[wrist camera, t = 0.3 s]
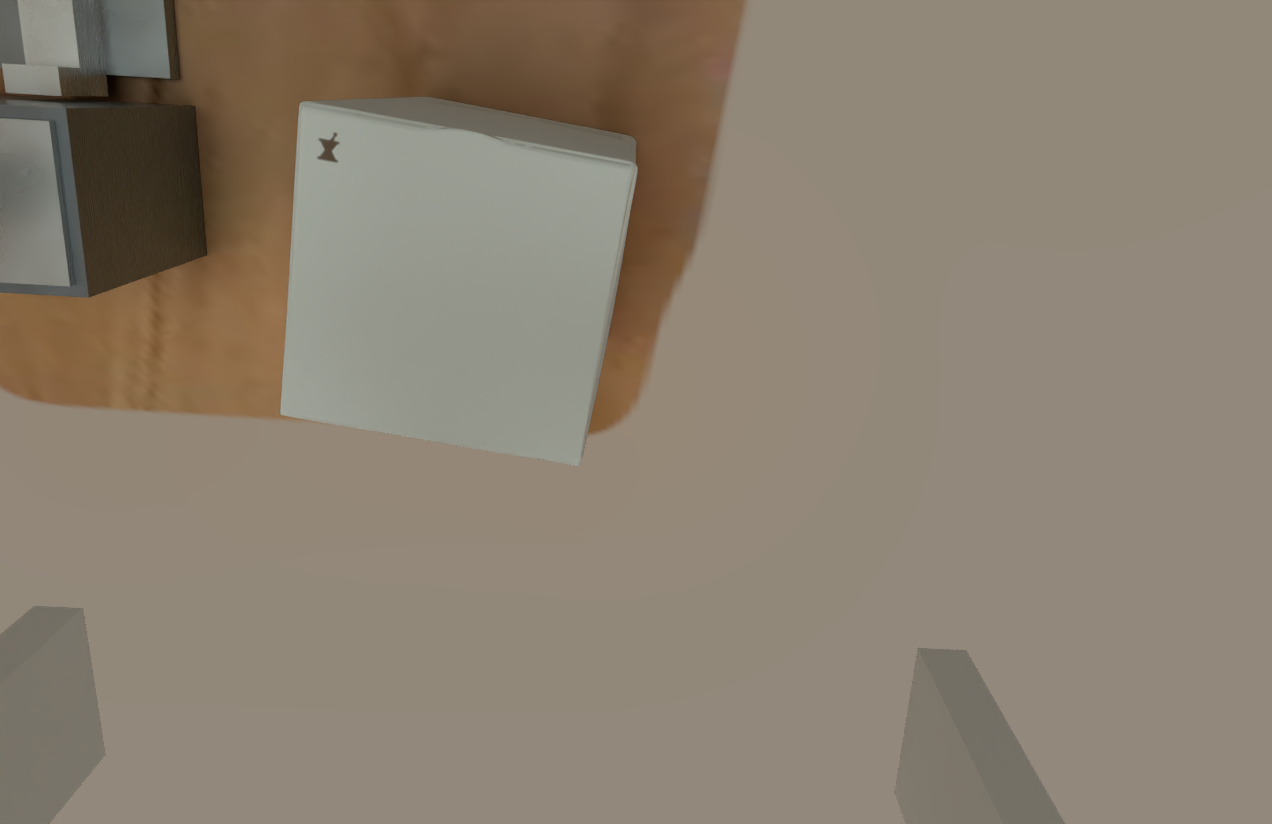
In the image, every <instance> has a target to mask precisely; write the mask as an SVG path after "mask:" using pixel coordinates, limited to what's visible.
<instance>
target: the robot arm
mask: <svg viewBox="0 0 1272 824" xmlns="http://www.w3.org/2000/svg"><path fill="white" fill-rule="evenodd" d="M104 756H105V749H104V742H103V735H102V729H101V722H100V716H99V709H98V702H97V696H96V689H95V683H94V676H93V670H92V663H91V657H90V650H89V643H88V637H87V630H86V624H85V617H84V611H83V608H67V607H45V606H34V607H32V608H31V609H30V610H29V611H28V612H26V613H25V614H24V615H23V616H22V617H21V618H19V619H18V620H17V621H16V622H15V623H13V624H12V625H11V626H10V627H9V628H7V629H6V630H5V631H4V632H3V633H1V634H0V824H50V822H51V821H52V820H53V819H54V817H55V816H56V815H57V814H58V812H59V811H60V810H61V809H62V808H63V806H64V805H65V804H66V803H67V801H68V800H69V799H70V798H71V797H72V795H73V794H74V793H75V792H76V790H77V789H78V788H79V787H80V786H81V784H82V783H83V782H84V781H85V779H86V778H87V777H88V776H89V775H90V773H91V772H92V771H93V770H94V768H95V767H96V766H97V765H98V764H99V762H100V761H101V760H102V759H103V757H104ZM895 795H896V797H897V800H898V803H899V806H900V809H901V812H902V814H903V817H904V820H905V823H906V824H1065V823H1064V821H1063V819H1062V817H1061V816H1060V814H1059V812H1058V811H1057V808H1056V807H1055V805H1054V803H1053V801H1052V800H1051V798H1050V796H1049V794H1048V793H1047V791H1046V789H1045V787H1044V786H1043V784H1042V782H1041V780H1040V779H1039V777H1038V775H1037V773H1036V772H1035V770H1034V768H1033V766H1032V765H1031V763H1030V761H1029V760H1028V758H1027V756H1026V754H1025V753H1024V751H1023V749H1022V747H1021V745H1020V744H1019V742H1018V740H1017V738H1016V737H1015V735H1014V733H1013V731H1012V730H1011V728H1010V726H1009V724H1008V723H1007V721H1006V719H1005V717H1004V716H1003V714H1002V712H1001V710H1000V709H999V707H998V705H997V703H996V702H995V700H994V698H993V696H992V695H991V693H990V691H989V689H988V688H987V686H986V684H985V682H984V681H983V679H982V677H981V675H980V673H979V672H978V670H977V668H976V667H975V665H974V663H973V661H972V660H971V658H970V656H969V654H968V652H967V651H966V650H948V649H927V648H918V650H917V656H916V662H915V669H914V675H913V681H912V687H911V693H910V700H909V706H908V712H907V718H906V724H905V731H904V737H903V743H902V749H901V755H900V762H899V768H898V774H897V780H896V787H895Z"/></svg>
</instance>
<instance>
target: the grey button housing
mask: <svg viewBox="0 0 1272 824" xmlns="http://www.w3.org/2000/svg"><path fill="white" fill-rule="evenodd" d="M206 255H207V251H206V239H205V227H204V215H203V203H202V190H201V178H200V166H199V154H198V142H197V129H196V117H195V106H186V105H169V104H152V103H135V102H119V101H102V100H85V99H68V98H51V97H35V96H18V95H1V94H0V292H3V293H20V294H37V295H55V296H72V297H92V296H94V295H97V294H100V293H103V292H106V291H108V290H111V289H114V288H117V287H120V286H122V285H125V284H128V283H131V282H134V281H136V280H139V279H142V278H145V277H148V276H150V275H153V274H156V273H159V272H162V271H164V270H167V269H170V268H173V267H176V266H178V265H181V264H184V263H187V262H190V261H192V260H195V259H198V258H201V257H203V256H206Z"/></svg>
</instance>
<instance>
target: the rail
mask: <svg viewBox="0 0 1272 824" xmlns="http://www.w3.org/2000/svg"><path fill="white" fill-rule="evenodd" d="M0 68H1V69H3V76H4V83H5V90H6V93H17V94H33V95H50V96H108V87H107V77H106V75H118V76H135V77H152V78H169V79H180V75H179V63H178V52H177V40H176V28H175V17H174V5H173V0H0Z"/></svg>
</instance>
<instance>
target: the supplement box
mask: <svg viewBox="0 0 1272 824" xmlns="http://www.w3.org/2000/svg"><path fill="white" fill-rule="evenodd" d="M636 144H637V142H636V140H635V139H634V138H633V137H632V136H629V135H624V134H620V133H615V132H610V131H605V130H600V129H594V128H589V127H584V126H579V125H574V124H569V123H563V122H558V121H553V120H548V119H543V118H538V117H532V116H527V115H522V114H517V113H512V112H507V111H501V110H496V109H491V108H486V107H481V106H476V105H470V104H465V103H460V102H454V101H449V100H444V99H438V98H432V97H397V98H374V99H347V100H321V101H304V102H301V103H300V105H299V116H298V132H297V148H296V164H295V181H294V199H293V217H292V235H291V253H290V270H289V286H288V303H287V320H286V336H285V350H284V361H283V377H282V393H281V408H280V414H281V415H283V416H289V417H294V418H300V419H306V420H311V421H317V422H323V423H329V424H334V425H340V426H346V427H353V428H358V429H364V430H369V431H375V432H382V433H387V434H393V435H399V436H405V437H410V438H417V439H422V440H428V441H434V442H439V443H445V444H451V445H456V446H463V447H468V448H474V449H479V450H485V451H491V452H497V453H503V454H509V455H515V456H521V457H527V458H533V459H539V460H546V461H551V462H557V463H563V464H569V465H574V466H579V465H580V463H581V460H582V457H583V453H584V448H585V443H586V439H587V434H588V430H589V425H590V421H591V416H592V411H593V407H594V402H595V398H596V393H597V388H598V384H599V379H600V374H601V369H602V364H603V359H604V355H605V350H606V345H607V340H608V335H609V330H610V325H611V320H612V315H613V310H614V304H615V299H616V293H617V287H618V282H619V276H620V271H621V265H622V259H623V253H624V247H625V241H626V235H627V229H628V223H629V217H630V211H631V205H632V200H633V194H634V189H635V184H636V179H637V172H638V167H637V165H636Z"/></svg>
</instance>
